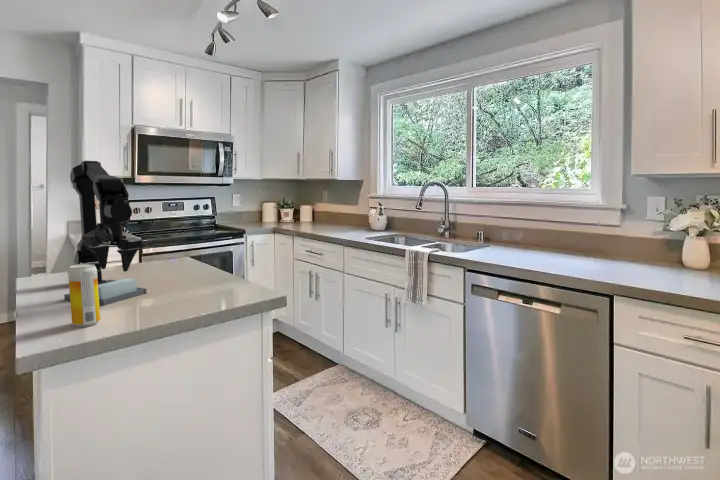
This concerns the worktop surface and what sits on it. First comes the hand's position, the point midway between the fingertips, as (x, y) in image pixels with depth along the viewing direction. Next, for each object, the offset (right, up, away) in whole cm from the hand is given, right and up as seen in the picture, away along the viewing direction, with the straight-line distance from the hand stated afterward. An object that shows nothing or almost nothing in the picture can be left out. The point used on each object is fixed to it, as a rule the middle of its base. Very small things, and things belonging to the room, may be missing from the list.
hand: (114, 270), depth 133 cm
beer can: (+6, -12, -23) cm, 27 cm away
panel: (0, -9, +1) cm, 9 cm away
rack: (-4, -9, +2) cm, 10 cm away
